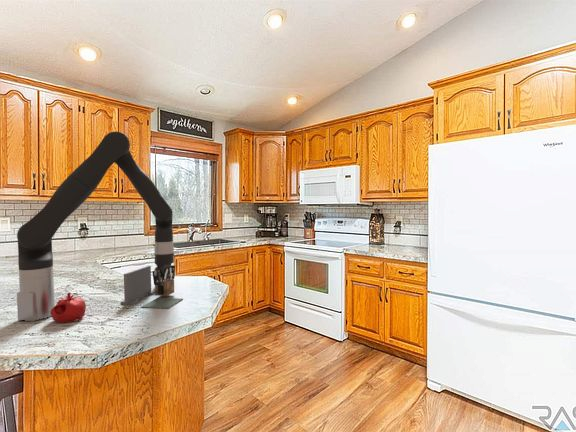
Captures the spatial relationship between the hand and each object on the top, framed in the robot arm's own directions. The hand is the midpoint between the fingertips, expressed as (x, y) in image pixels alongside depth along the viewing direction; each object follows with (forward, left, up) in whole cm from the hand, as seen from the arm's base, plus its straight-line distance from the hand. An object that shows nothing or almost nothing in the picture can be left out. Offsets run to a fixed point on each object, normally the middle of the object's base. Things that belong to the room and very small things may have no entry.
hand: (164, 292), depth 129 cm
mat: (-9, -4, -2) cm, 10 cm away
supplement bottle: (+15, +10, -2) cm, 18 cm away
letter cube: (0, 0, -1) cm, 1 cm away
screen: (-4, +9, -2) cm, 10 cm away
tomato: (-28, +19, -2) cm, 34 cm away
